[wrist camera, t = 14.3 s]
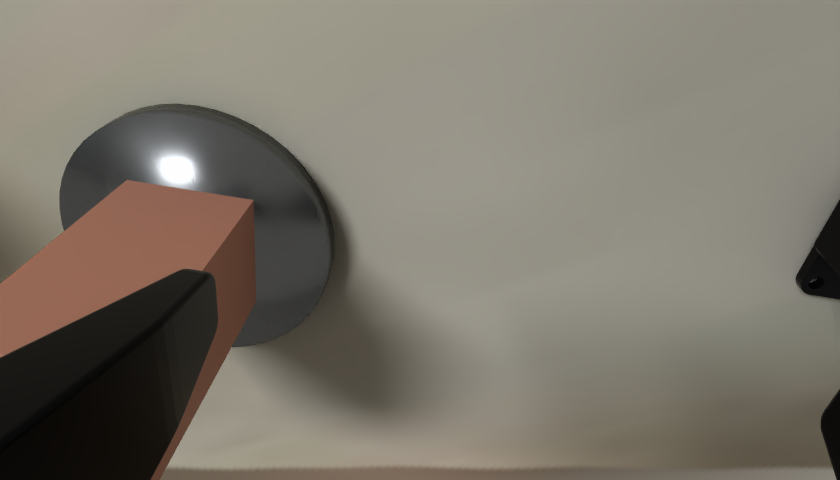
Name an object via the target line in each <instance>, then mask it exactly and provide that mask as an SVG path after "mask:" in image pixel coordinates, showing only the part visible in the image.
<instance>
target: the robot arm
mask: <svg viewBox="0 0 840 480" xmlns="http://www.w3.org/2000/svg"><path fill="white" fill-rule="evenodd" d="M816 277H818V279H817V280H816V281H813V282H810V281H811V280H812V279H814V278H816ZM796 283H797V284H798V286H799V287H800V288H801V289H802V290H803V291H804V292H805V293H807V294H810V295H816V296H822V297H829V298H835V299H840V200H839V202H838V204H837V206H836V207H835V209H834V211H833V212H832V214H831V216H830V218H829V219H828V221H827V223H826V224H825V226H824V228H823V230H822V231H821V233H820V235H819V236H818V238H817V240H816V242H815V244H814V246H813V248H812V250H811V252H810V253H809V255H808V257H807V258H806V260H805V262H804V264H803V265H802V267H801V269H800V270H799V272H798V274H797V276H796ZM217 326H218V307H217V293H216V282H215V278H214V276H213V275H212V274H211V273H210V272H206V271H200V270H193V269H181V270H179V271H176V272H174V273H172V274H170V275H168V276H166V277H164V278H162V279H160V280H158V281H156V282H154V283H152V284H150V285H148V286H146V287H144V288H142V289H140V290H137V291H135V292H133V293H131V294H129V295H127V296H125V297H123V298H121V299H119V300H117V301H115V302H113V303H111V304H109V305H107V306H105V307H103V308H101V309H99V310H96V311H94V312H92V313H90V314H88V315H86V316H84V317H82V318H80V319H78V320H76V321H74V322H72V323H70V324H68V325H66V326H64V327H62V328H60V329H57V330H55V331H53V332H51V333H49V334H47V335H45V336H43V337H41V338H39V339H37V340H35V341H33V342H31V343H29V344H27V345H25V346H23V347H21V348H18V349H16V350H14V351H12V352H10V353H8V354H6V355H4V356H2V357H0V480H151V478H152V477H153V475H154V473H155V471H156V469H157V467H158V465H159V463H160V462H161V460H162V458H163V456H164V454H165V452H166V450H167V449H168V447H169V445H170V443H171V441H172V439H173V437H174V435H175V433H176V431H177V429H178V427H179V424H180V422H181V420H182V417H183V415H184V413H185V410H186V407H187V405H188V402H189V400H190V397H191V395H192V392H193V390H194V387H195V385H196V382H197V380H198V377H199V375H200V372H201V370H202V367H203V365H204V362H205V359H206V357H207V354H208V352H209V349H210V347H211V344H212V342H213V339H214V337H215V334H216V331H217ZM821 431H822V435H823V438H824V441H825V444H826V447H827V450H828V454H829V457H830V460H831V463H832V466H833V470H834V473H835V476H836V479H837V480H840V389H839V391H838V392H837V394H836V395H835V396H834V398H833V399H832V400H831V402H830V403H829V405H828V406H827V407H826V409H825V410H824V412H823V414H822V417H821Z"/></svg>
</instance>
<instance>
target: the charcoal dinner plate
mask: <svg viewBox="0 0 840 480" xmlns="http://www.w3.org/2000/svg"><path fill="white" fill-rule="evenodd" d="M126 180H130V181H137V182H143V183H149V184H156V185H162V186H168V187H175V188H181V189H187V190H194V191H200V192H206V193H212V194H219V195H225V196H231V197H238V198H244V199H250V200H254V230H255V271H256V303H255V305H254V306H253V308H252V310H251V312H250V314H249V316H248V317H247V319H246V321H245V323H244V325H243V327H242V329H241V330H240V332H239V334H238V336H237V338H236V340H235V341H234V343H233V345H232V347H241V346H250V345H255V344H259V343H264V342H267V341H269V340H272V339H275V338H277V337H279V336H281V335H283V334H285V333H287V332H289V331H290V330H292V329H293V328H295V327H296V326H297V325H299V324H300V323H301V322H302V321H303V320H304V319H305V318H306V317H307V316H308V315H309V314H310V313H311V311H312V310H313V309H314V307H315V306H316V304H317V302H318V300H319V298H320V297H321V295H322V293H323V290H324V287H325V285H326V282H327V280H328V277H329V274H330V271H331V267H332V263H333V256H334V234H333V228H332V222H331V219H330V215H329V212H328V209H327V206H326V204H325V202H324V199H323V197H322V195H321V193H320V191H319V189H318V188H317V186H316V185H315V183H314V181H313V180H312V178H311V177H310V175H309V174H308V173H307V171H306V170H305V169H304V168H303V166H302V165H301V164H300V163H299V161H298V160H297V159H296V158H295V157H294V156H292V155H291V154H290V153H289V152H288V151H287V150H286V149H285V148H284V147H283V146H282V145H281V144H279V143H278V142H277V141H275V140H274V139H273V138H272V137H270V136H269V135H267V134H266V133H264V132H263V131H261V130H259V129H258V128H256V127H255V126H253V125H251V124H249V123H247V122H245V121H243V120H241V119H239V118H237V117H234V116H232V115H229V114H226V113H223V112H220V111H217V110H214V109H209V108H205V107H200V106H195V105H184V104H161V105H154V106H149V107H143V108H140V109H137V110H134V111H131V112H128V113H126V114H124V115H122V116H120V117H118V118H117V119H115V120H113V121H111V122H110V123H108V124H106V125H105V126H103V127H102V128H100V129H98V130H97V131H95V132H94V133H93V134H92V135H90V136H89V137H88V138H87V139H85V140H84V141H83V142H82V144H81V145H80V146H79V147H78V148H77V149H76V151H75V152H74V153H73V155H72V157H71V159H70V160H69V162H68V164H67V166H66V169H65V172H64V174H63V177H62V182H61V188H60V213H61V220H62V225H63V228H64V231H65V230H66V229H68V228H69V227H70V226H71V225H73V224H74V223H75V222H76V221H77V220H79V219H80V218H81V217H82V216H83V215H85V214H86V213H87V212H88V211H90V210H91V209H92V208H93V207H94V206H96V205H97V204H98V203H99V202H101V201H102V200H103V199H104V198H105V197H107V196H108V195H109V194H110V193H111V192H113V191H114V190H115V189H116V188H118V187H119V186H120V185H121V184H122V183H124V182H125V181H126Z"/></svg>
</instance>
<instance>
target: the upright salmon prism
mask: <svg viewBox="0 0 840 480" xmlns="http://www.w3.org/2000/svg"><path fill="white" fill-rule="evenodd" d="M181 269H193V270H200V271H206V272H210V273H211V274H212V275H213V276H214V278H215V282H216V293H217V307H218V326H217V331H216V334H215V337H214V339H213V342H212V344H211V347H210V349H209V352H208V354H207V357H206V359H205V362H204V365H203V367H202V370H201V372H200V375H199V377H198V380H197V382H196V385H195V387H194V390H193V392H192V395H191V397H190V400H189V402H188V405H187V407H186V410H185V413H184V415H183V417H182V420H181V422H180V424H179V427H178V429H177V431H176V433H175V435H174V437H173V439H172V441H171V443H170V445H169V447H168V449H167V450H166V452H165V454H164V456H163V458H162V460H161V462H160V463H159V465H158V467H157V469H156V471H155V473H154V475H153V477H152V478H151V480H160V478H161V476H162V474H163V472H164V471H165V469H166V467H167V465H168V463H169V461H170V459H171V458H172V456H173V454H174V452H175V450H176V448H177V447H178V445H179V443H180V441H181V439H182V437H183V435H184V434H185V432H186V430H187V428H188V426H189V424H190V423H191V421H192V419H193V417H194V415H195V413H196V412H197V410H198V408H199V406H200V404H201V402H202V400H203V399H204V397H205V395H206V393H207V391H208V389H209V388H210V386H211V384H212V382H213V380H214V378H215V376H216V375H217V373H218V371H219V369H220V367H221V365H222V364H223V362H224V360H225V358H226V356H227V354H228V353H229V351H230V349H231V347H232V345H233V343H234V341H235V340H236V338H237V336H238V334H239V332H240V330H241V329H242V327H243V325H244V323H245V321H246V319H247V317H248V316H249V314H250V312H251V310H252V308H253V306H254V305H255V303H256V271H255V230H254V200H250V199H244V198H238V197H231V196H225V195H219V194H212V193H206V192H200V191H194V190H187V189H181V188H175V187H168V186H162V185H156V184H149V183H143V182H137V181H130V180H126V181H125V182H124V183H122V184H121V185H120V186H119V187H118V188H116V189H115V190H114V191H113V192H111V193H110V194H109V195H108V196H107V197H105V198H104V199H103V200H102V201H101V202H99V203H98V204H97V205H96V206H94V207H93V208H92V209H91V210H90V211H88V212H87V213H86V214H85V215H83V216H82V217H81V218H80V219H79V220H77V221H76V222H75V223H74V224H73V225H71V226H70V227H69V228H68V229H66V230H65V231H64V232H63V233H62V234H60V235H59V236H58V237H57V238H55V239H54V240H53V241H52V242H51V243H49V244H48V245H47V246H46V247H44V248H43V249H42V250H41V251H40V252H38V253H37V254H36V255H35V256H34V257H32V258H31V259H30V260H29V261H27V262H26V263H25V264H24V265H23V266H21V267H20V268H19V269H18V270H16V271H15V272H14V273H13V274H12V275H10V276H9V277H8V278H7V279H6V280H4V281H3V282H2V283H1V284H0V357H2V356H4V355H6V354H8V353H10V352H12V351H14V350H16V349H18V348H21V347H23V346H25V345H27V344H29V343H31V342H33V341H35V340H37V339H39V338H41V337H43V336H45V335H47V334H49V333H51V332H53V331H55V330H57V329H60V328H62V327H64V326H66V325H68V324H70V323H72V322H74V321H76V320H78V319H80V318H82V317H84V316H86V315H88V314H90V313H92V312H94V311H96V310H99V309H101V308H103V307H105V306H107V305H109V304H111V303H113V302H115V301H117V300H119V299H121V298H123V297H125V296H127V295H129V294H131V293H133V292H135V291H137V290H140V289H142V288H144V287H146V286H148V285H150V284H152V283H154V282H156V281H158V280H160V279H162V278H164V277H166V276H168V275H170V274H172V273H174V272H176V271H179V270H181Z"/></svg>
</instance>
